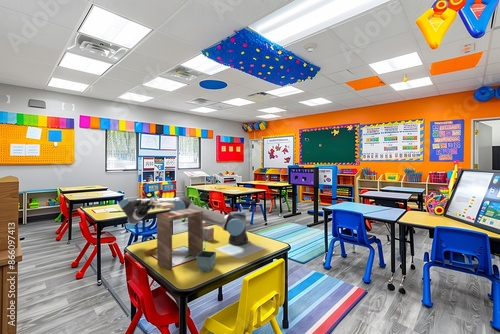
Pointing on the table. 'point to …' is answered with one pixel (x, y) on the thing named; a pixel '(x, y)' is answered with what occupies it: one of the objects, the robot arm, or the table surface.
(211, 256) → the flower pot
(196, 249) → the shelf
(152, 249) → the kendama
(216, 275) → the table surface
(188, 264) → the table surface
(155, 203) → the salad server
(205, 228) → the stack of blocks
